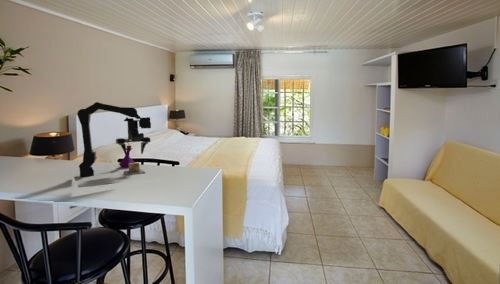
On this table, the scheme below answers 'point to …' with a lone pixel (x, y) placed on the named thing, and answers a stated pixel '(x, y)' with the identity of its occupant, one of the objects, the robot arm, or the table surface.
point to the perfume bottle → (126, 158)
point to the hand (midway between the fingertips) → (134, 154)
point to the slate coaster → (134, 172)
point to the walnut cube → (134, 167)
